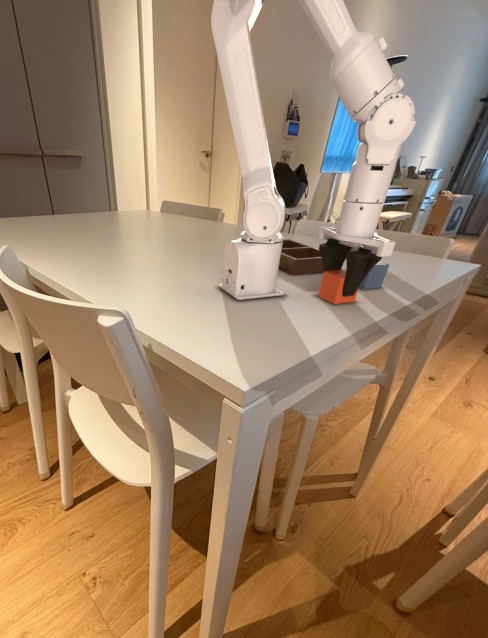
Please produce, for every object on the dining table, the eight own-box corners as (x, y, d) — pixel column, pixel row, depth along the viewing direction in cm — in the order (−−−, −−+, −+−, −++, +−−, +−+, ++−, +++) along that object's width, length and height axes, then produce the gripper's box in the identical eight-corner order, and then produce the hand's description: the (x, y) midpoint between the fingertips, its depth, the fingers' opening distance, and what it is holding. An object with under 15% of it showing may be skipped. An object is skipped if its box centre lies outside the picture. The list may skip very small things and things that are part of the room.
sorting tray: (336, 271, 75) (340, 256, 73) (292, 275, 71) (295, 259, 70) (287, 251, 90) (289, 239, 88) (249, 254, 86) (250, 241, 85)
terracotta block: (334, 304, 57) (341, 278, 55) (317, 296, 61) (324, 271, 58) (354, 301, 59) (362, 276, 56) (337, 293, 62) (344, 269, 59)
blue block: (363, 289, 64) (371, 265, 62) (347, 283, 68) (354, 260, 65) (381, 287, 65) (389, 264, 63) (364, 281, 69) (371, 258, 66)
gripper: (424, 206, 46) (388, 302, 54) (350, 196, 57) (329, 277, 65) (385, 207, 44) (353, 307, 52) (316, 197, 55) (299, 280, 63)
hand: (338, 291), depth 59 cm, fingers closed on terracotta block, 4 cm apart
